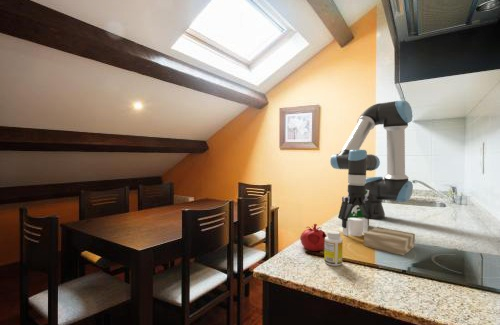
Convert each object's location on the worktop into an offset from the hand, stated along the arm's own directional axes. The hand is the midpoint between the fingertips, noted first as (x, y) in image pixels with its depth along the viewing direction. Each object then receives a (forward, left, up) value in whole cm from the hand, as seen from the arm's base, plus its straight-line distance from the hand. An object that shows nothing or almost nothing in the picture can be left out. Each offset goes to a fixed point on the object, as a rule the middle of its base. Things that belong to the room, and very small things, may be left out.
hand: (355, 234), depth 122 cm
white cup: (0, 0, 0) cm, 0 cm away
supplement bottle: (+38, +9, 0) cm, 39 cm away
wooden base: (+6, +16, 0) cm, 17 cm away
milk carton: (-18, -7, 0) cm, 19 cm away
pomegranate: (+30, -3, 0) cm, 30 cm away
